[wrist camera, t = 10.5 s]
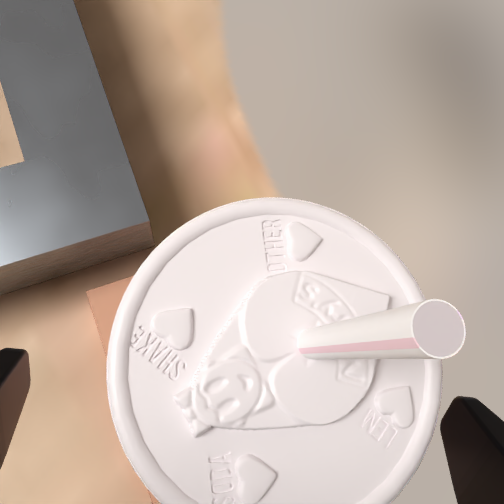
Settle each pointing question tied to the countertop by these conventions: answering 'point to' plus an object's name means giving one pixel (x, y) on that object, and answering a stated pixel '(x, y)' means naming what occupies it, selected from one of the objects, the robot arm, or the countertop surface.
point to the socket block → (61, 153)
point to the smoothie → (277, 360)
